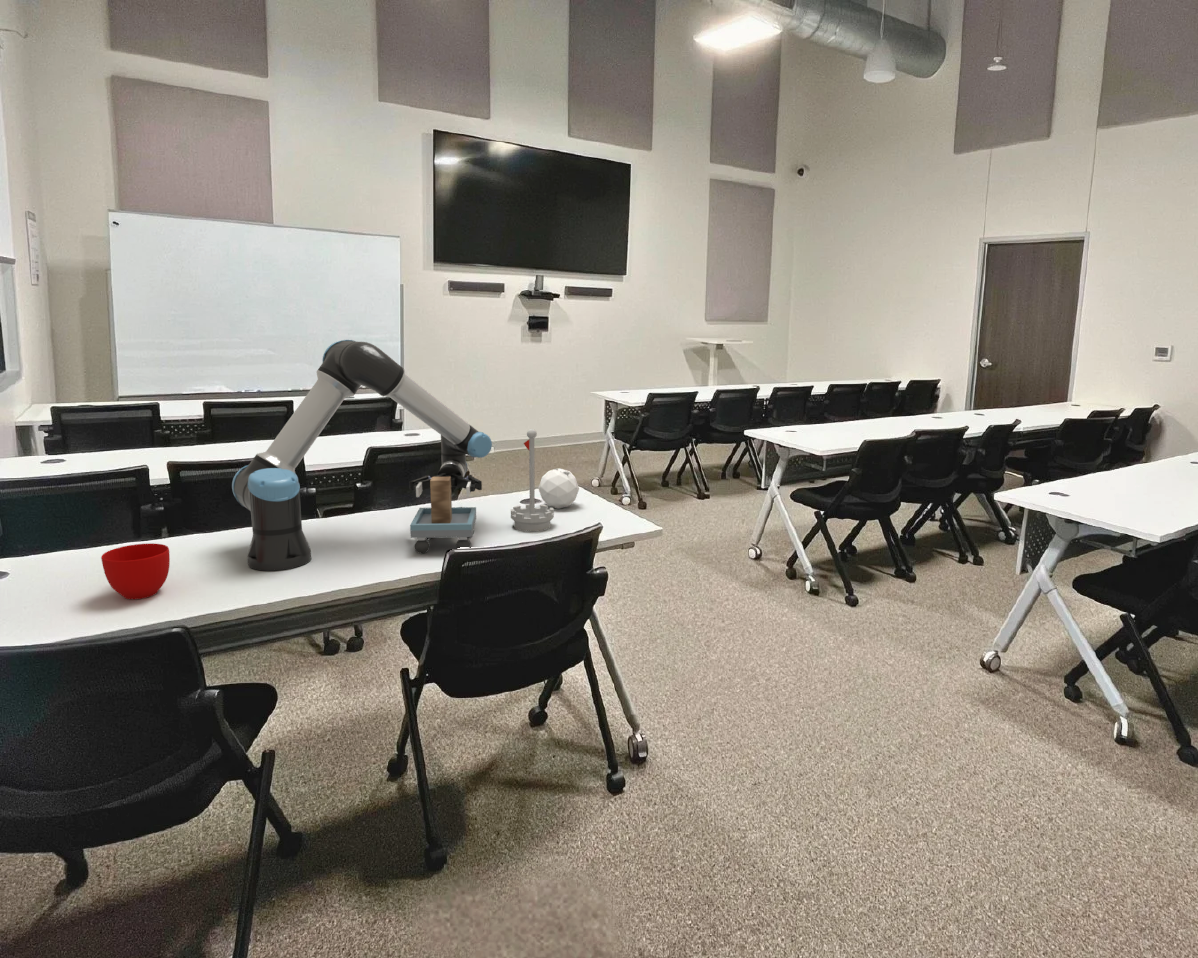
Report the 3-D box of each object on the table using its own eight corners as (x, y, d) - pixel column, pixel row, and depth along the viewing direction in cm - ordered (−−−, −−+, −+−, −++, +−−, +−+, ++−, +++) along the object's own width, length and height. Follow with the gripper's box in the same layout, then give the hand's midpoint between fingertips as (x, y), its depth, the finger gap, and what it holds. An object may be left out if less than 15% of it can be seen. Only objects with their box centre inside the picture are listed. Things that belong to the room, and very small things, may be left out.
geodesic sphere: (595, 490, 250) (575, 455, 252) (574, 498, 239) (552, 462, 240) (567, 510, 258) (547, 477, 259) (544, 519, 246) (523, 484, 248)
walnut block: (431, 523, 204) (430, 480, 201) (433, 518, 208) (432, 476, 206) (450, 523, 204) (448, 480, 201) (452, 518, 209) (450, 476, 206)
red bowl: (160, 575, 181) (156, 536, 179) (180, 595, 169) (175, 553, 167) (97, 588, 172) (92, 546, 170) (114, 609, 160) (108, 565, 158)
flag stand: (561, 528, 226) (562, 430, 219) (523, 534, 219) (523, 433, 212) (540, 518, 236) (539, 424, 230) (503, 524, 229) (502, 427, 223)
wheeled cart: (411, 555, 198) (410, 525, 196) (420, 536, 216) (419, 507, 214) (472, 554, 200) (471, 524, 198) (476, 535, 217) (476, 507, 215)
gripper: (492, 487, 227) (488, 504, 206) (409, 487, 225) (396, 505, 204) (492, 463, 225) (488, 478, 205) (408, 463, 223) (395, 478, 202)
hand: (442, 492), depth 204 cm, fingers open, 13 cm apart
